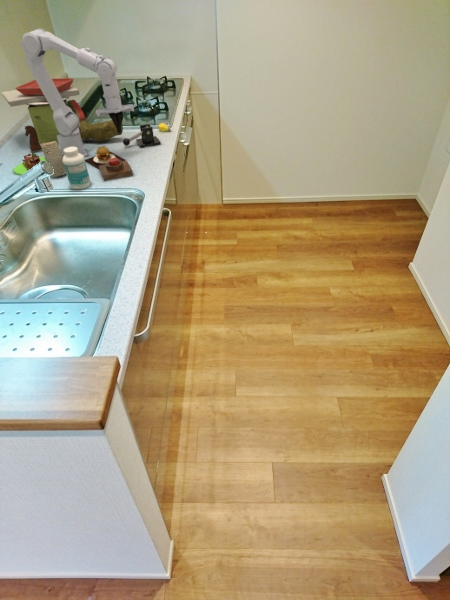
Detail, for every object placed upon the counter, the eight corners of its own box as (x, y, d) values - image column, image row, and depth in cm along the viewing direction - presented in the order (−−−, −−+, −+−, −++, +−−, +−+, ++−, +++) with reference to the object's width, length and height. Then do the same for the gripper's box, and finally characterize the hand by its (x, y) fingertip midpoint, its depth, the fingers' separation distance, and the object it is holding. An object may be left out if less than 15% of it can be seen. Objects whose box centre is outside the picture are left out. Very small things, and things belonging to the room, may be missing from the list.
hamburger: (110, 152, 169) (107, 139, 165) (125, 160, 162) (122, 147, 159) (84, 160, 163) (81, 147, 160) (99, 169, 156) (95, 155, 153)
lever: (125, 147, 172) (122, 141, 170) (124, 145, 174) (121, 139, 172) (151, 133, 172) (148, 126, 170) (150, 130, 175) (146, 124, 172)
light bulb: (156, 130, 186) (159, 127, 188) (169, 135, 186) (171, 132, 189) (157, 123, 184) (160, 121, 186) (170, 128, 184) (172, 125, 186)
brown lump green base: (35, 178, 152) (29, 163, 147) (8, 171, 157) (1, 156, 153) (63, 163, 161) (59, 148, 157) (37, 157, 167) (31, 142, 162)
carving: (51, 178, 149) (39, 144, 144) (50, 176, 155) (39, 143, 150) (68, 174, 151) (57, 141, 146) (67, 172, 157) (56, 140, 152)
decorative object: (81, 139, 184) (70, 127, 192) (89, 137, 185) (77, 126, 194) (74, 109, 174) (62, 98, 182) (82, 107, 175) (70, 96, 184)
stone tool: (81, 133, 183) (79, 147, 177) (74, 115, 175) (72, 129, 170) (125, 130, 184) (125, 143, 179) (121, 112, 176) (120, 125, 171)
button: (110, 166, 150) (109, 162, 148) (108, 163, 152) (107, 158, 151) (120, 165, 150) (119, 160, 149) (118, 161, 153) (117, 157, 152)
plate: (62, 107, 165) (61, 103, 164) (12, 108, 165) (10, 104, 164) (76, 94, 181) (75, 90, 180) (30, 95, 181) (29, 91, 180)
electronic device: (10, 107, 162) (9, 101, 160) (1, 94, 174) (-1, 89, 173) (80, 94, 173) (79, 89, 171) (66, 83, 185) (65, 79, 184)
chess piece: (29, 151, 172) (19, 127, 167) (39, 148, 175) (30, 123, 170) (34, 152, 170) (24, 127, 164) (45, 148, 173) (35, 124, 167)
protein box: (74, 140, 180) (64, 104, 170) (39, 144, 178) (26, 107, 167) (76, 133, 188) (66, 97, 177) (42, 136, 185) (30, 100, 175)
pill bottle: (72, 181, 149) (61, 145, 140) (92, 180, 149) (83, 144, 140) (68, 190, 143) (57, 153, 134) (89, 189, 144) (79, 152, 135)
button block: (104, 181, 149) (101, 170, 146) (99, 170, 156) (97, 160, 153) (133, 175, 152) (131, 165, 149) (127, 165, 159) (125, 155, 156)
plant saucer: (16, 96, 165) (13, 87, 163) (38, 86, 179) (36, 78, 176) (57, 96, 162) (54, 87, 160) (76, 86, 176) (74, 78, 174)
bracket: (140, 148, 172) (137, 130, 167) (136, 141, 178) (133, 124, 173) (160, 144, 174) (158, 127, 170) (156, 138, 180) (153, 121, 175)
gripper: (94, 101, 147) (103, 138, 156) (133, 95, 151) (139, 132, 160) (91, 96, 152) (100, 132, 161) (129, 91, 156) (135, 127, 165)
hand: (119, 132), depth 161 cm, fingers closed
